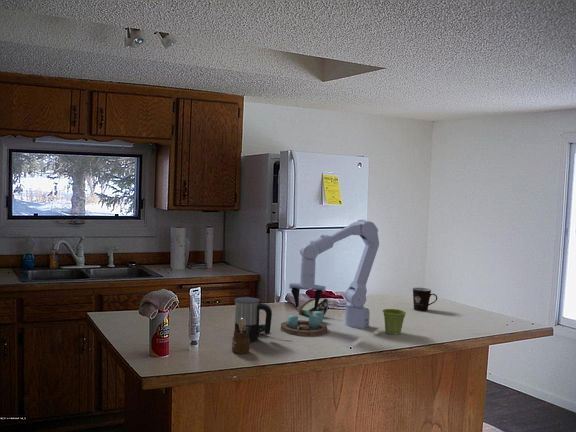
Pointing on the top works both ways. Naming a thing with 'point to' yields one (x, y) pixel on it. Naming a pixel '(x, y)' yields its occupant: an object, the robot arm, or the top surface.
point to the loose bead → (319, 315)
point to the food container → (309, 307)
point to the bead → (292, 322)
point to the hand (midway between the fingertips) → (306, 307)
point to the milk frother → (252, 316)
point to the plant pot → (393, 320)
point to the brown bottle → (241, 340)
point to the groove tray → (302, 332)
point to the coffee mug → (422, 298)
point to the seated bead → (313, 322)
